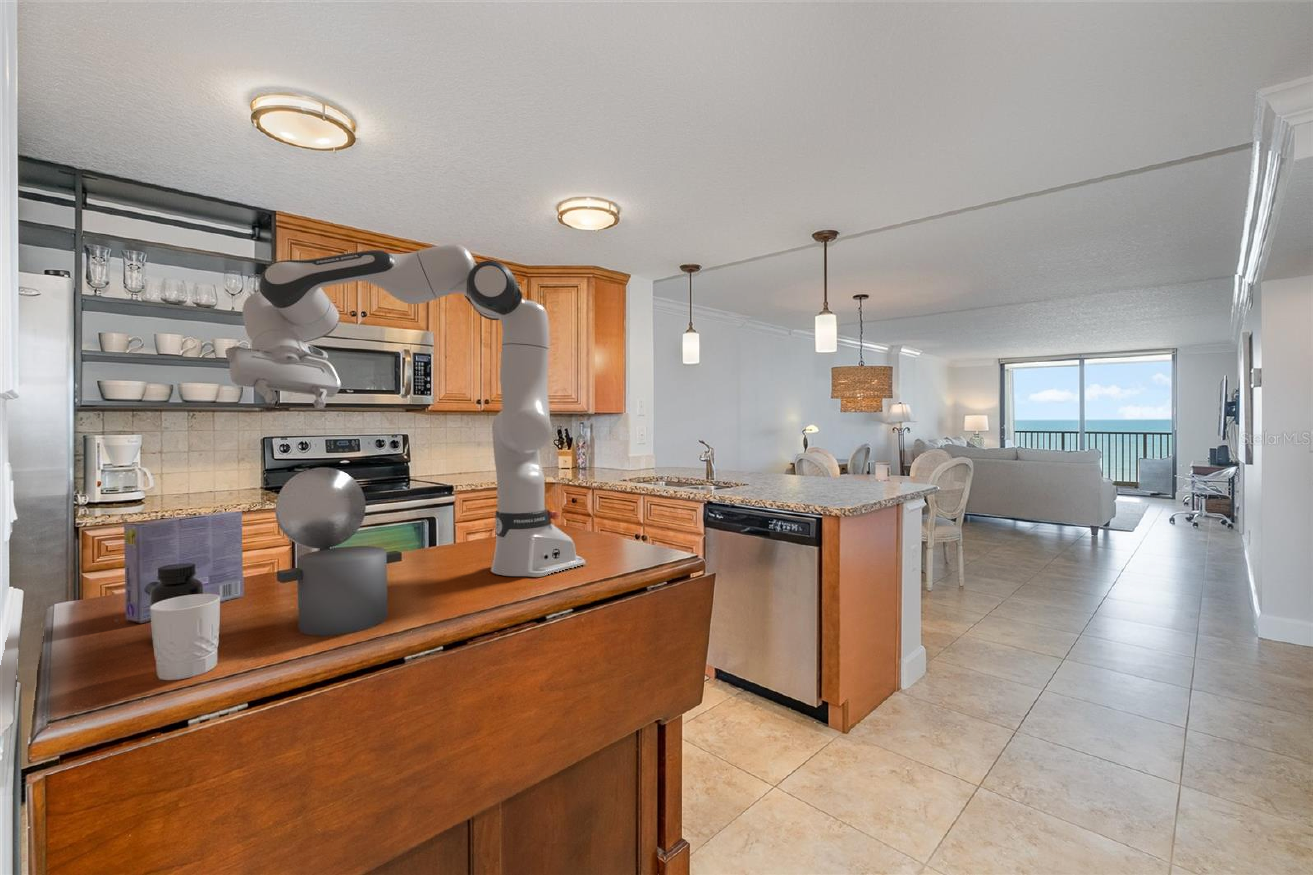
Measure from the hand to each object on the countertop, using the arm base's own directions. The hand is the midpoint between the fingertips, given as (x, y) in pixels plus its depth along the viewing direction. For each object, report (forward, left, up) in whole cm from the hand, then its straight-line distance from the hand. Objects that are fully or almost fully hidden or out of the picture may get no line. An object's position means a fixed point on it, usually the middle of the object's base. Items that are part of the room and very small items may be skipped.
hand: (297, 404), depth 120 cm
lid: (-2, +15, -20) cm, 25 cm away
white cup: (+19, +32, -39) cm, 54 cm away
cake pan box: (+18, -4, -39) cm, 43 cm away
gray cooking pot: (-3, +23, -39) cm, 46 cm away
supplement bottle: (+20, +15, -39) cm, 46 cm away
